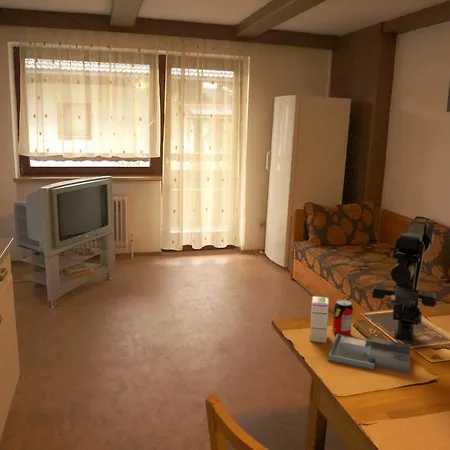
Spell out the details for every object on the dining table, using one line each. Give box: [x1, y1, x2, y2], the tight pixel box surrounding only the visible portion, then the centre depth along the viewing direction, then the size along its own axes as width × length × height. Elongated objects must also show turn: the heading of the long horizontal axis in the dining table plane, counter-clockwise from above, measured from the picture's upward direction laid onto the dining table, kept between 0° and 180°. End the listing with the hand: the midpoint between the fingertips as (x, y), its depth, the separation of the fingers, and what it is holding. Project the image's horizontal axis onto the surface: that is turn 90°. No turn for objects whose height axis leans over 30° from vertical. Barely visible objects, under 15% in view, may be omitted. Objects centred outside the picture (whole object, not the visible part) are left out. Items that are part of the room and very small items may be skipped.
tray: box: [327, 334, 376, 371], centre depth 157 cm, size 16×14×2 cm
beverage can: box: [332, 298, 354, 336], centre depth 169 cm, size 6×6×12 cm
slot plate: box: [368, 337, 412, 375], centre depth 153 cm, size 12×12×4 cm
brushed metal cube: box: [339, 336, 354, 355], centre depth 157 cm, size 4×4×4 cm
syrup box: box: [309, 295, 330, 344], centre depth 165 cm, size 6×6×14 cm
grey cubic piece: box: [351, 339, 366, 358], centre depth 156 cm, size 4×4×4 cm
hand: (400, 319), depth 155 cm, fingers closed
